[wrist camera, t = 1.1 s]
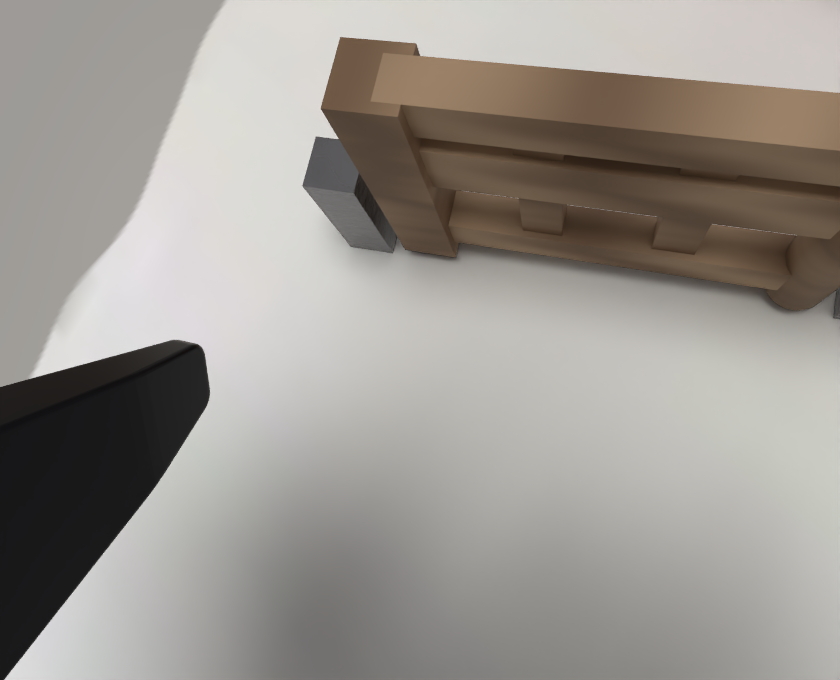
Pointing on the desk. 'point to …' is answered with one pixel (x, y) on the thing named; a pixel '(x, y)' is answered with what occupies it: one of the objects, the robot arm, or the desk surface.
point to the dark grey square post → (358, 200)
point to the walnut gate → (597, 166)
